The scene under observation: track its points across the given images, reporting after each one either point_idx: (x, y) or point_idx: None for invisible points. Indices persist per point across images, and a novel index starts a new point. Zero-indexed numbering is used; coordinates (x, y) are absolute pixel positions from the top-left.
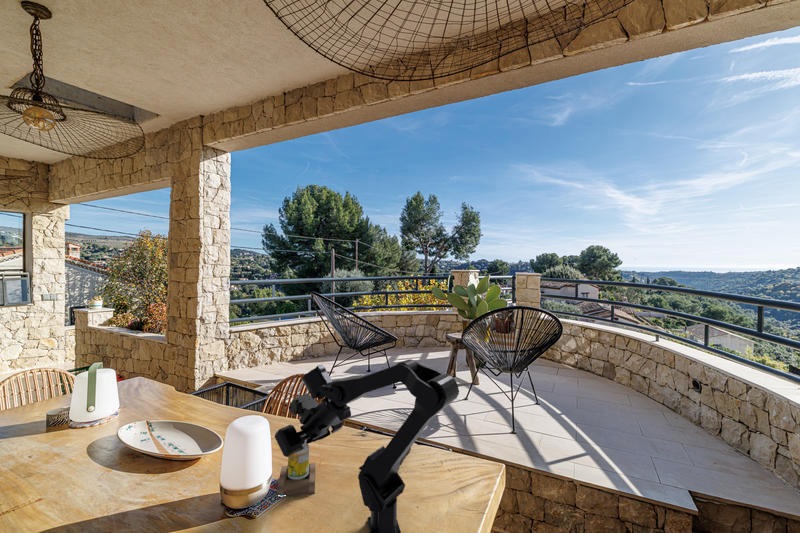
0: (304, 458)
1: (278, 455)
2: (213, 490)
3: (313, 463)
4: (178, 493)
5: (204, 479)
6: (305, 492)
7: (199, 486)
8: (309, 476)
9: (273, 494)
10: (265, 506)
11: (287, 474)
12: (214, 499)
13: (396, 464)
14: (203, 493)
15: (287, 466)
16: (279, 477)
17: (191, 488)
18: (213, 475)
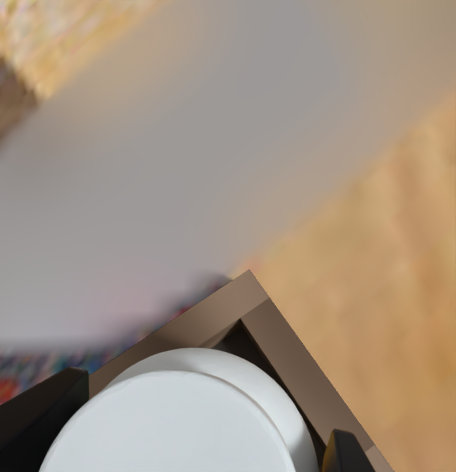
0: None
1: (420, 123)
2: (57, 87)
3: (388, 469)
4: (11, 3)
5: (113, 6)
6: None
7: (67, 26)
8: (318, 463)
9: (103, 355)
10: (3, 389)
11: (244, 329)
12: (4, 136)
13: None
14: (31, 72)
15: (264, 304)
16: (133, 346)
17: (48, 14)
18: (147, 11)
